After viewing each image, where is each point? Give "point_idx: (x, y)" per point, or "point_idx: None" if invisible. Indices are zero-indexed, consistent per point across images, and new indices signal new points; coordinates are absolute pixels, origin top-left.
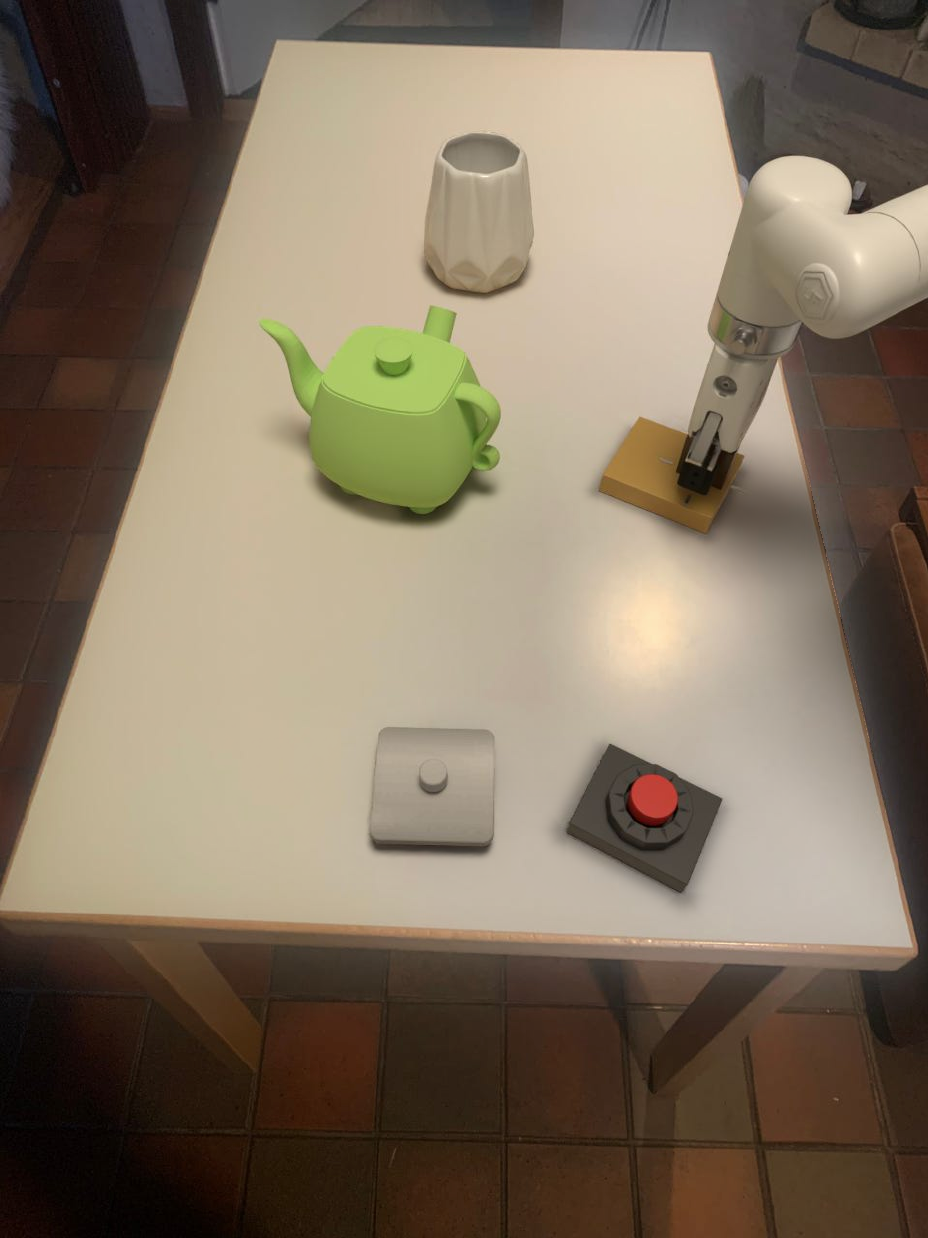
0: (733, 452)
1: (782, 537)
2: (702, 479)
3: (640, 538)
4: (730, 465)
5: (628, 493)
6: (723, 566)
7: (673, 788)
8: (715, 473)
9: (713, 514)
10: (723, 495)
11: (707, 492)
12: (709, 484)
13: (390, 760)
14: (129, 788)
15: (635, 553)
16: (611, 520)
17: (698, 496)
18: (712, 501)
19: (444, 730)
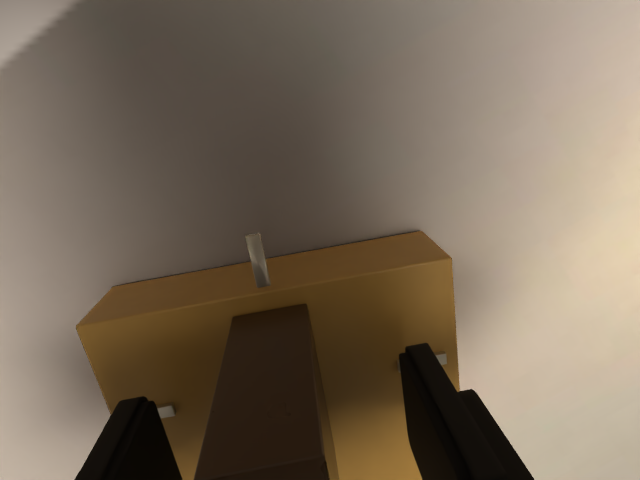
0: (307, 469)
1: (272, 5)
2: (506, 440)
3: (534, 354)
4: (317, 391)
5: None
6: (512, 118)
7: None
8: (319, 381)
9: (433, 262)
10: (324, 282)
11: (429, 349)
12: (452, 384)
13: None
14: None
15: (588, 337)
16: (515, 433)
17: (385, 343)
18: (375, 296)
19: None
